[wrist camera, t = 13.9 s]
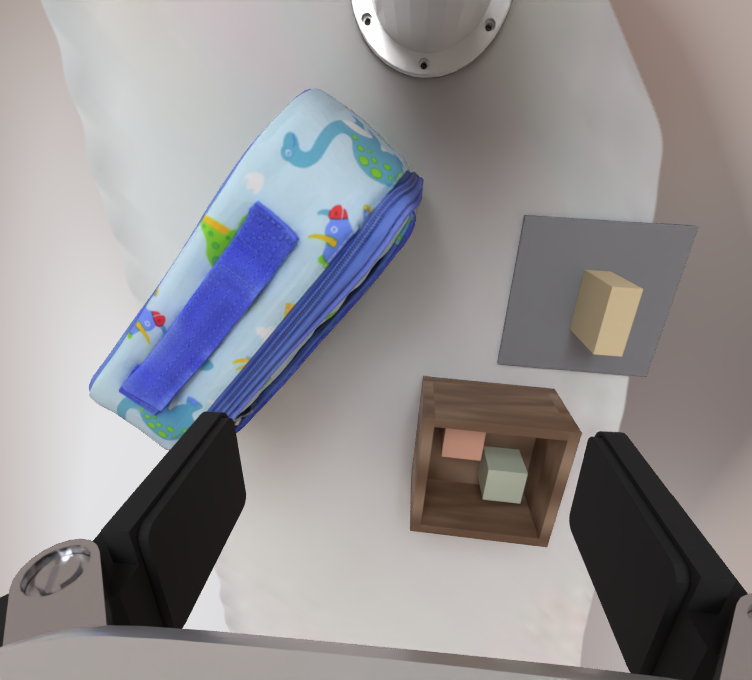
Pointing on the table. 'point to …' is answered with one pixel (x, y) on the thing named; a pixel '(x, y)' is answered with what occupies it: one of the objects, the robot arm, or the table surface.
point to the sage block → (502, 474)
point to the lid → (592, 293)
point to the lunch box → (264, 272)
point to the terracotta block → (461, 443)
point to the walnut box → (460, 476)
